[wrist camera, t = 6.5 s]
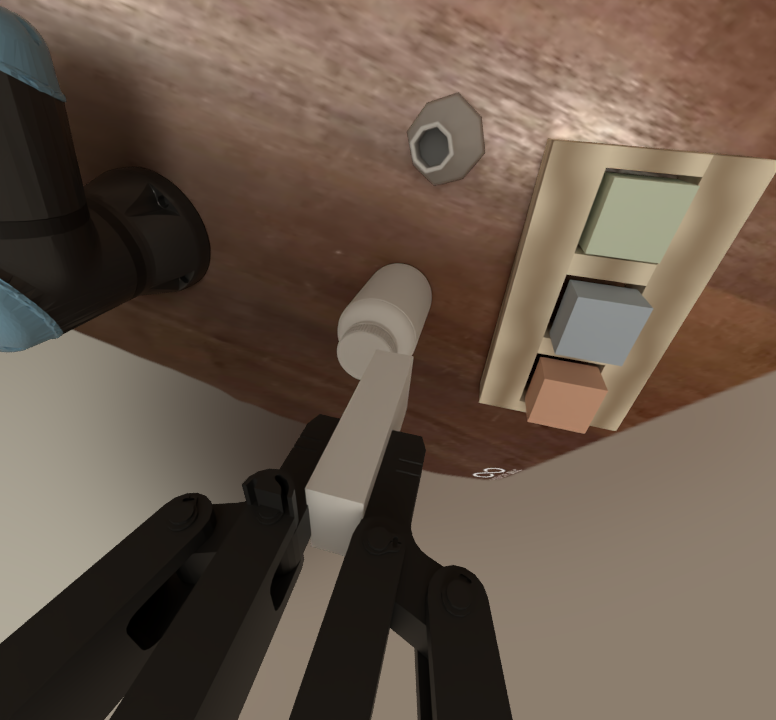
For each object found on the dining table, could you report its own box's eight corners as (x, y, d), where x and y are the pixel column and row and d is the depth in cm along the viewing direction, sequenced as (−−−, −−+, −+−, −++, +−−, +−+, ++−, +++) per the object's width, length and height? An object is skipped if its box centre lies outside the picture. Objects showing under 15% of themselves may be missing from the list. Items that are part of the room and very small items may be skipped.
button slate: (549, 333, 38) (554, 354, 34) (569, 279, 34) (578, 296, 31) (609, 343, 37) (621, 366, 33) (637, 289, 33) (653, 308, 30)
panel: (480, 383, 48) (479, 402, 44) (547, 138, 32) (554, 140, 28) (607, 408, 45) (615, 431, 42) (750, 156, 29) (782, 161, 26)
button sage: (576, 240, 35) (585, 253, 31) (601, 171, 31) (614, 177, 28) (642, 249, 34) (659, 263, 30) (676, 178, 30) (699, 186, 27)
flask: (498, 156, 33) (500, 166, 25) (431, 198, 37) (414, 220, 29) (463, 74, 31) (453, 57, 23) (394, 128, 34) (364, 130, 26)
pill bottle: (417, 250, 40) (384, 306, 28) (442, 311, 43) (423, 385, 31) (357, 274, 43) (305, 333, 31) (385, 329, 47) (348, 402, 35)
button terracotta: (524, 397, 43) (527, 421, 39) (540, 356, 39) (544, 378, 36) (577, 408, 42) (584, 433, 38) (598, 367, 38) (608, 391, 35)
